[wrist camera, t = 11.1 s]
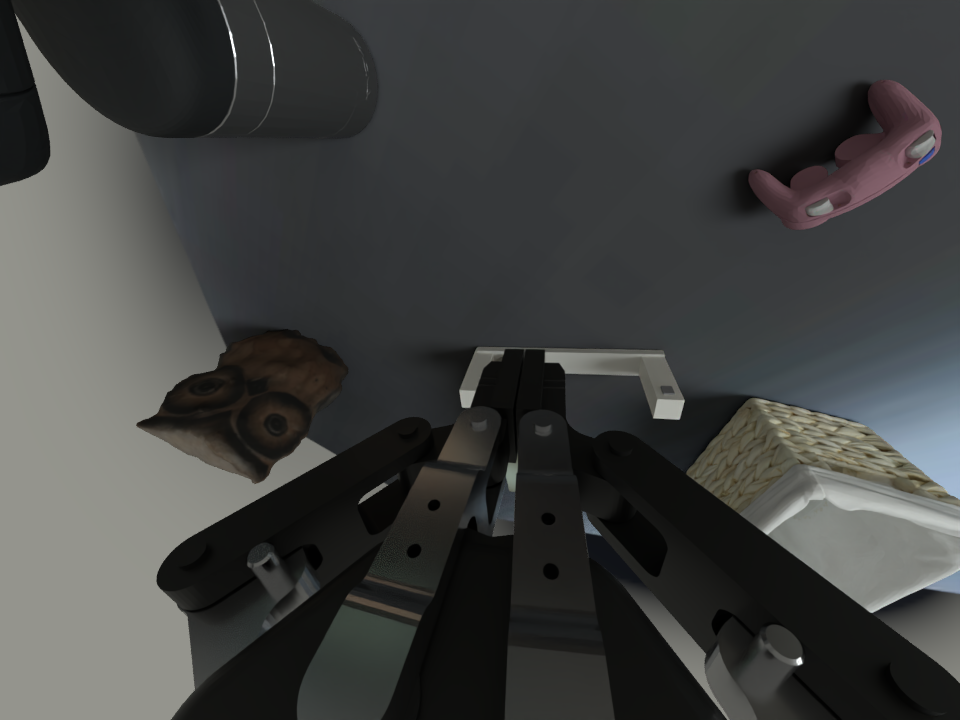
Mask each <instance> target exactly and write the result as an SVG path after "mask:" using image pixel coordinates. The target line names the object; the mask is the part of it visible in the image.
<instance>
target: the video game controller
mask: <svg viewBox="0 0 960 720" xmlns="http://www.w3.org/2000/svg"><path fill="white" fill-rule="evenodd" d="M867 94H868V103H869V106H870V110H871V111H872V113H873V115H874V116H875V118H876V120H877V122H878V123H879V125H880V126H881V127H882V129H883V132H882V133H878V134H861V135H856V136H853V137H851V138H849V139H847V140H845V141H844V142H843V143H841V144H840V145H839V146H838V148H837V149H836V151H835V162H836V166H837V167H838V168H840V169H838V170H837V171H835V172H834V173H832V174H831V175H829V176H828V171H827V170H826V168H824V167H822V166H812V167H809V168H806V169H804V170H802V171H800V172H798V173H797V174H796V175H794V176H793V178H792V179H791V185H790V187H791V189H790V188H788V187H786V186H785V185H783V184H782V183H780V182H779V181H778V180H777V179H776V178H774V177H773V176H772V175H771V174H770V173H768V172H765V171H763V170H759V169H755V170H752V171H751V172H750V174H749V178H748V179H749V180H748V181H749V184H750V186H751V188H752V190H753V192H754V193H755V195H756V196H757V197H758V198H759V199H760V201H761V202H762V203H763V204H764V205H765V206H766V207H767V208H768V209H770V210H771V211H772V212H773V213H774V214H775V215H777V216H778V217H779V218H780V219H781V220H782V223H783V224H784V226H786V227H787V228H789V229H793V230H803V229H808V228H812V227H815V226H818V225H820V224H822V223H823V222H825V221H827V220H828V219H829V218H832V217H835V216H838V215H840V214H843V213H845V212H847V211H850V210H852V209H854V208H856V207H858V206H860V205H862V204H864V203H866V202H868V201H870V200H872V199H873V198H875V197H877V196H879V195H880V194H882V193H883V192H885V191H887V190H888V189H890V188H891V187H893V186H894V185H896V184H897V183H898V182H900V181H901V180H903V179H904V178H905V177H907V176H908V175H909V174H911V173H912V172H913V171H914V170H915V169H916V168H917V167H918V166H921V165H923V164H924V163H926V162H927V161H929V160H930V159H931V158H932V157H933V156H934V155H935V154H936V153H937V152H938V150H939V148H940V144H941V136H942V132H941V126H940V124H939V121H938V120H937V118H936V117H935V116H934V114H933V113H932V112H931V111H930V110H929V109H928V108H927V107H926V106H925V105H924V104H923V103H922V102H921V101H919V100H918V99H917V98H916V97H915V96H914V95H913V94H912V93H911V92H909V91H908V90H907V89H906V88H905V87H903V86H902V85H900V84H899V83H897V82H894V81H891V80H880V81H877V82H875V83H873V84H872V85H871V86H870V88H869V90H868V93H867Z"/></svg>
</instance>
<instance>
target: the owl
mask: <svg viewBox="0 0 960 720" xmlns="http://www.w3.org/2000/svg"><path fill="white" fill-rule="evenodd" d="M347 374H348V368H347V366H346V365H345V364H344V363H343V360H342V359H341V358H340V357H339V356H338V354H337V353H336V351H334V350H333V349H332V348H330V347H326V346H322V345H319V344H318V343H317V341H316V340H315V339H313V338H307V337H305V336H301V333H300V332H299V331H298V330H293V331H292V330H288V329H285V330H283V331H277V332H271V331H267V332H266V333H265V334H263V335H257V336H252V337H249V338H247V339H244V340H241V341H239V342H231V343H230V345H229V346H228V347H227V349H226V352H225V353H222V354H220V358H219V362H218V366H217V368H216V369H215V370H214V371H210V372H206V373H201V374H194V375H191V376H189V377H188V378H187V379H184V380H182V381H181V382H179V383H178V384H176V385H175V387H174V388H173V389H172V391H170V392H168V393H167V395H166V397H165V400H164V402H163V403H162V405H161V407H160V410H159V412H158V413H157V414H156V415H154V416H153V417H151V418H149V419H145V420H142V421H141V422H138V423H137V425H136V426H137V427H139V428H141V429H143V430H144V431H146V432H148V433H150V434H152V435H154V436H156V437H158V438H160V439H162V440H164V441H166V442H168V443H169V444H171V445H172V446H174V447H175V448H177V449H179V450H181V451H183V452H184V453H186V454H188V455H192V456H194V457H197V458H199V459H200V460H202V461H204V462H205V463H207V464H209V465H212V466H214V467H217V468H220V469H222V470H225V471H228V472H231V473H235V474H239V475H241V476H244V477H247V478H249V479H251V480H252V482H253V483H254V484H256V483H259V482H261V481H263V480H265V478H266V477H267V476H268V475H269V473H270V470H271V468H272V466H273V465H274V464H275V463H276V462H277V461H278V460H280V459H282V458H284V457H286V456H288V455H290V454H291V453H292V452H293V451H294V450H295V448H296V447H297V446H298V445H299V444H300V443H301V440H302V439H304V438H305V437H306V436H307V435H308V431H309V428H310V424H311V422H312V419H313V417H314V416H315V414H316V413H317V412H319V411H321V410H322V409H324V408H326V407H327V406H328V405H330V404H331V403H332V402H333V401H334V400H335V399H336V398H337V397H338V395H339V394H340V393H341V391H342V385H341V382H342V380H344V378H345V377H346V375H347Z"/></svg>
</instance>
